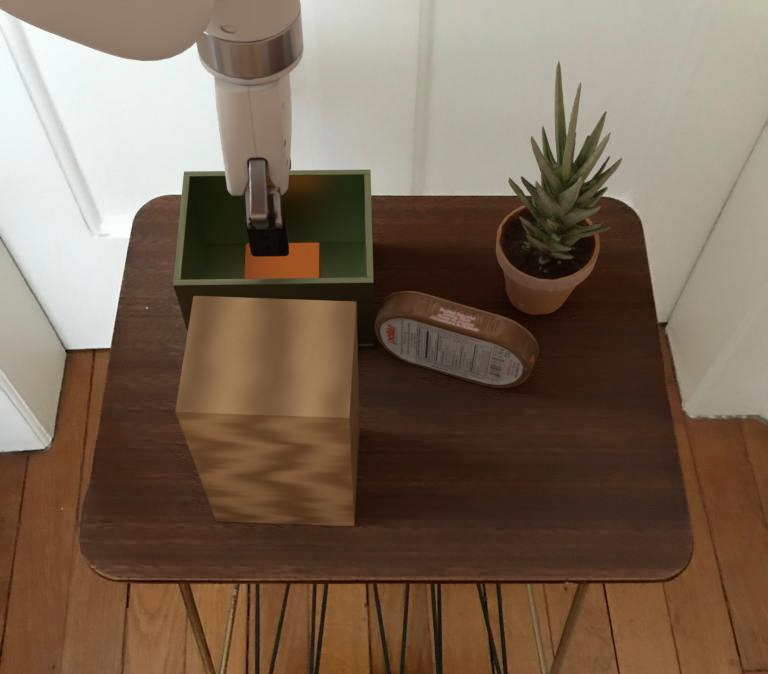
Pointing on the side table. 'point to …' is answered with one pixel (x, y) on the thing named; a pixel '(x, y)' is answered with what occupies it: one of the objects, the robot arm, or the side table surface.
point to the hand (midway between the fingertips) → (272, 210)
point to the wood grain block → (273, 408)
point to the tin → (456, 339)
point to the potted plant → (555, 218)
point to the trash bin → (304, 225)
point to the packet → (285, 263)
